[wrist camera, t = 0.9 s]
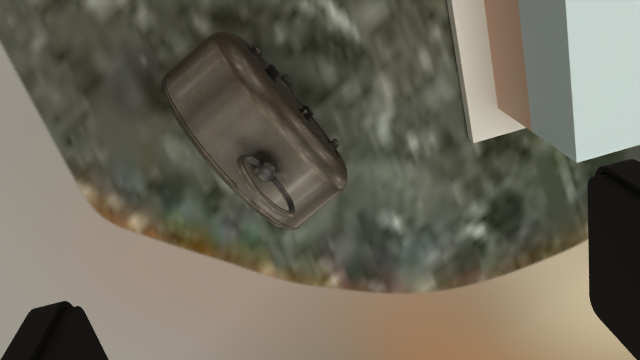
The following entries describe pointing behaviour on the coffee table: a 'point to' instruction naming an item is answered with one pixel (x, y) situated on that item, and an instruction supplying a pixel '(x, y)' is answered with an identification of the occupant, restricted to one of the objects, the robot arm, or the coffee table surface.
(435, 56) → the coffee table surface
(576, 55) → the brick tower
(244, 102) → the alarm clock
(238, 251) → the coffee table surface
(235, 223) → the coffee table surface
